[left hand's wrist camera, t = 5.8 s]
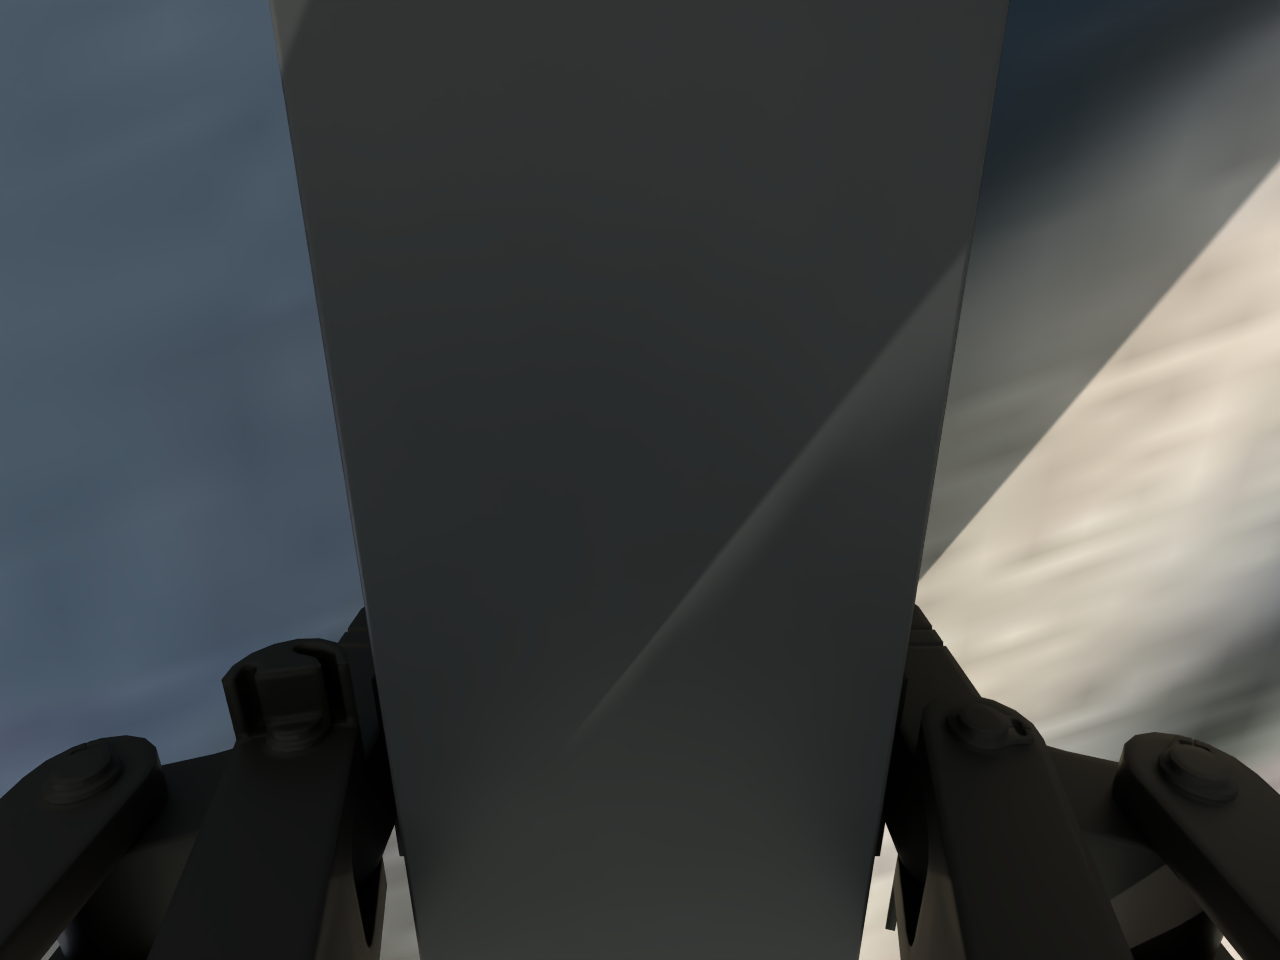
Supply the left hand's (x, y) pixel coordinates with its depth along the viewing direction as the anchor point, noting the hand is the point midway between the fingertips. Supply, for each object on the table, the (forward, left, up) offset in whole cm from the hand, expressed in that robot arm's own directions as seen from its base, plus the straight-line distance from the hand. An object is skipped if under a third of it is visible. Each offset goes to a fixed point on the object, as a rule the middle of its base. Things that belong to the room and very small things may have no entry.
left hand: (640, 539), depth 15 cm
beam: (+8, +24, -1) cm, 25 cm away
